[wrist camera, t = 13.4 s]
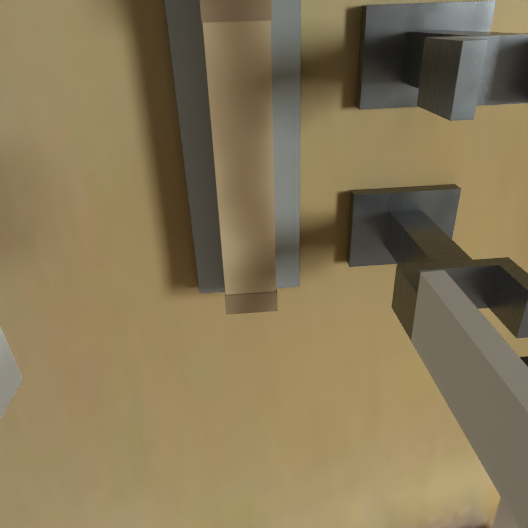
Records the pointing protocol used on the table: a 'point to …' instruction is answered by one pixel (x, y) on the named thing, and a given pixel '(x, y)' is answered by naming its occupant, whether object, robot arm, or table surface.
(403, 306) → the post far
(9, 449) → the table surface
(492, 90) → the post near
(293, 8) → the mat
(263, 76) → the rail
